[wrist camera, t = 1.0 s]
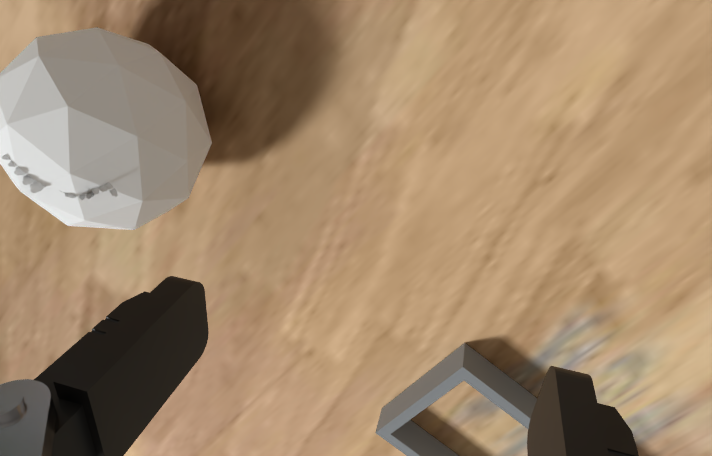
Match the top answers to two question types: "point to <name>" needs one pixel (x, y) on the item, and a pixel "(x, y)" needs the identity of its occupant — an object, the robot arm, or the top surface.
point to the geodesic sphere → (100, 129)
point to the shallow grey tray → (447, 374)
